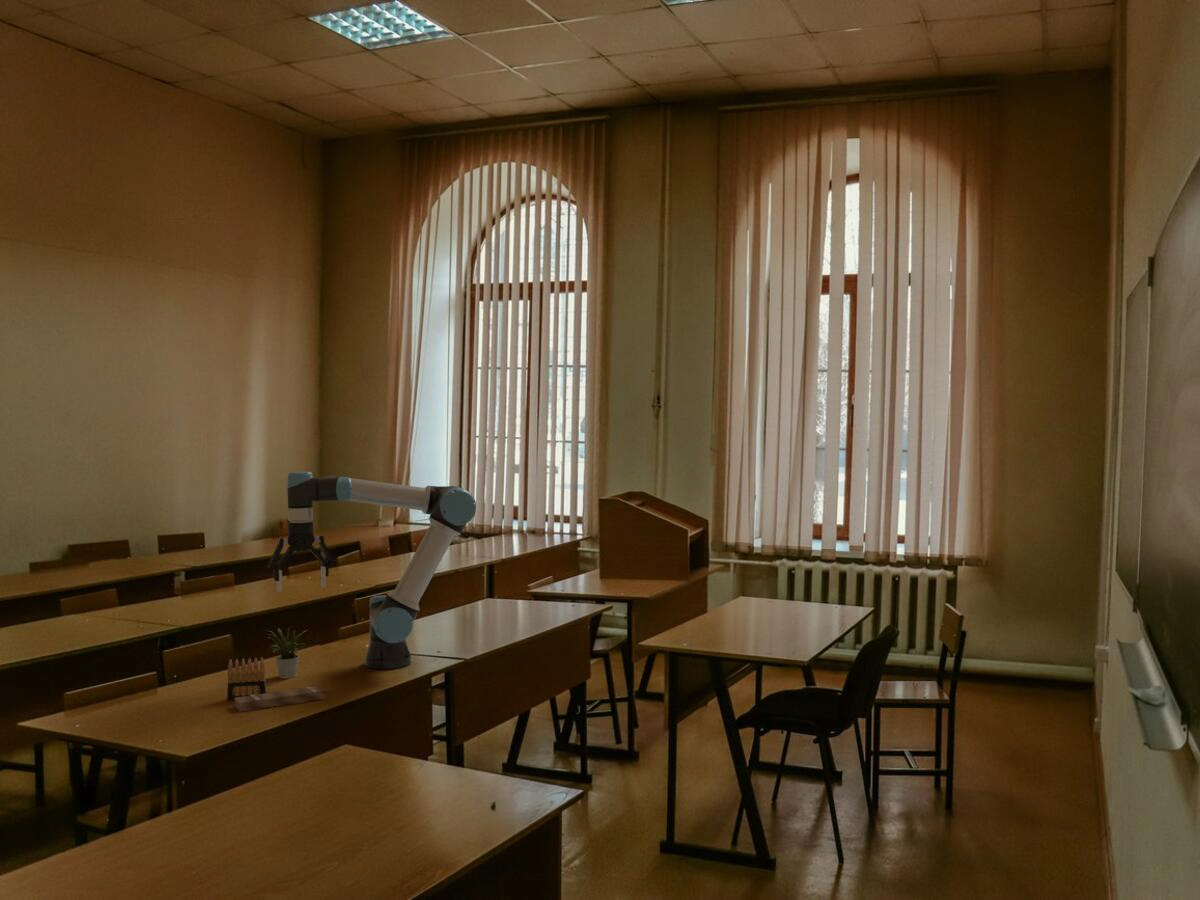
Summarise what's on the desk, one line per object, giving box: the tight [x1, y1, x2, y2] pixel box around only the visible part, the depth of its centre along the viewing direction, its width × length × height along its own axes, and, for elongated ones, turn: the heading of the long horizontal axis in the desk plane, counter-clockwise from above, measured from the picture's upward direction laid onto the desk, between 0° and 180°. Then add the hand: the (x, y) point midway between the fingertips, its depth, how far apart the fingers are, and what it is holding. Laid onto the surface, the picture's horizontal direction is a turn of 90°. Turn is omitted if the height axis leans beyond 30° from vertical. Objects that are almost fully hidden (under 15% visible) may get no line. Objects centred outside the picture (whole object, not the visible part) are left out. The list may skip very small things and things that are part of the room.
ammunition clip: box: [226, 656, 267, 701], centre depth 300 cm, size 11×2×12 cm, turn 103°
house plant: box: [265, 626, 309, 680], centre depth 325 cm, size 14×14×16 cm
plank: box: [233, 685, 326, 713], centre depth 295 cm, size 24×6×3 cm, turn 122°
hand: (301, 589), depth 320 cm, fingers open, 13 cm apart
